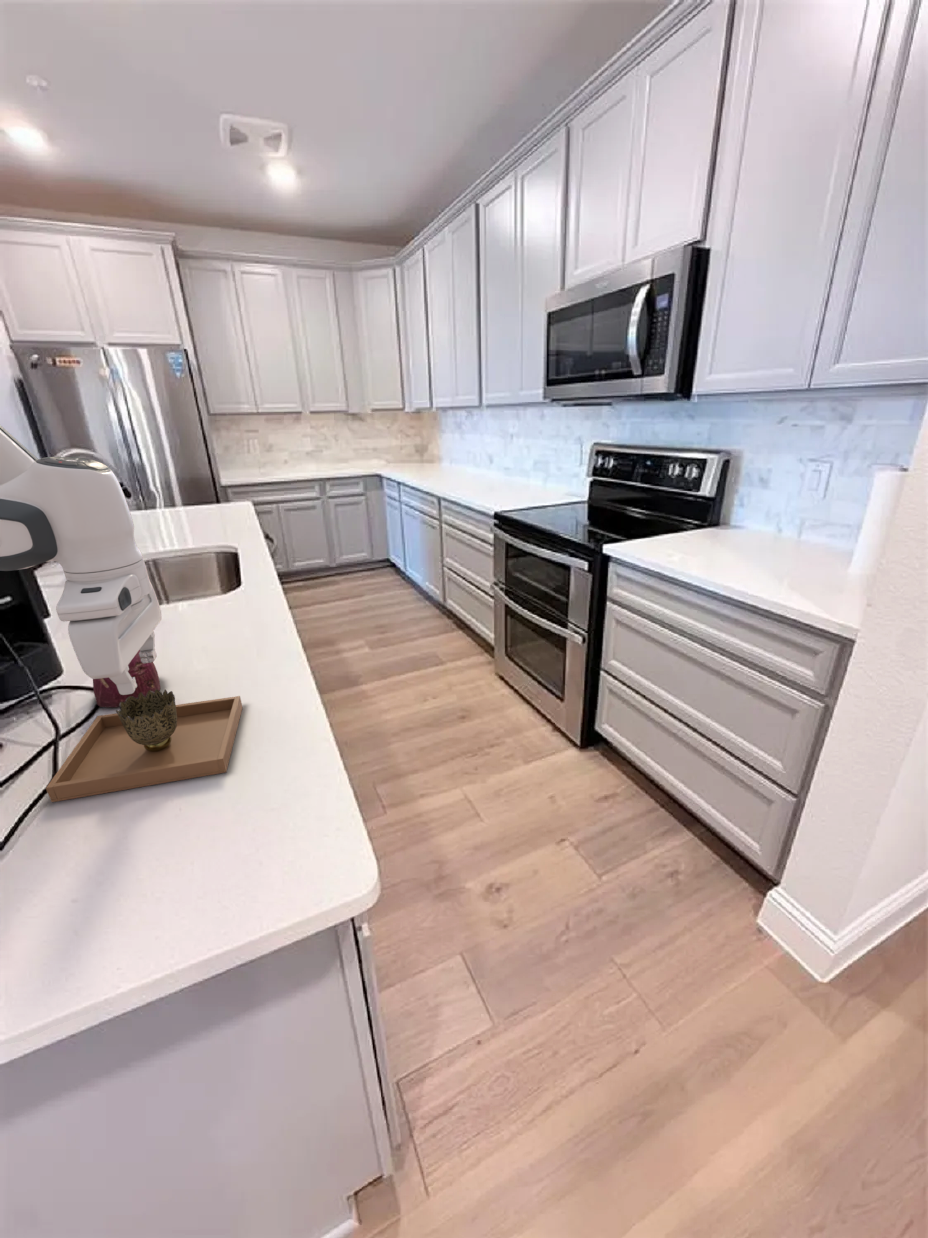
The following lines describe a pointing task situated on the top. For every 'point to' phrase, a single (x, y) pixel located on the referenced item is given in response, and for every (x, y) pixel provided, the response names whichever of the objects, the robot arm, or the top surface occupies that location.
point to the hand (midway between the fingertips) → (140, 675)
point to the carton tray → (125, 764)
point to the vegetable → (142, 672)
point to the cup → (150, 719)
